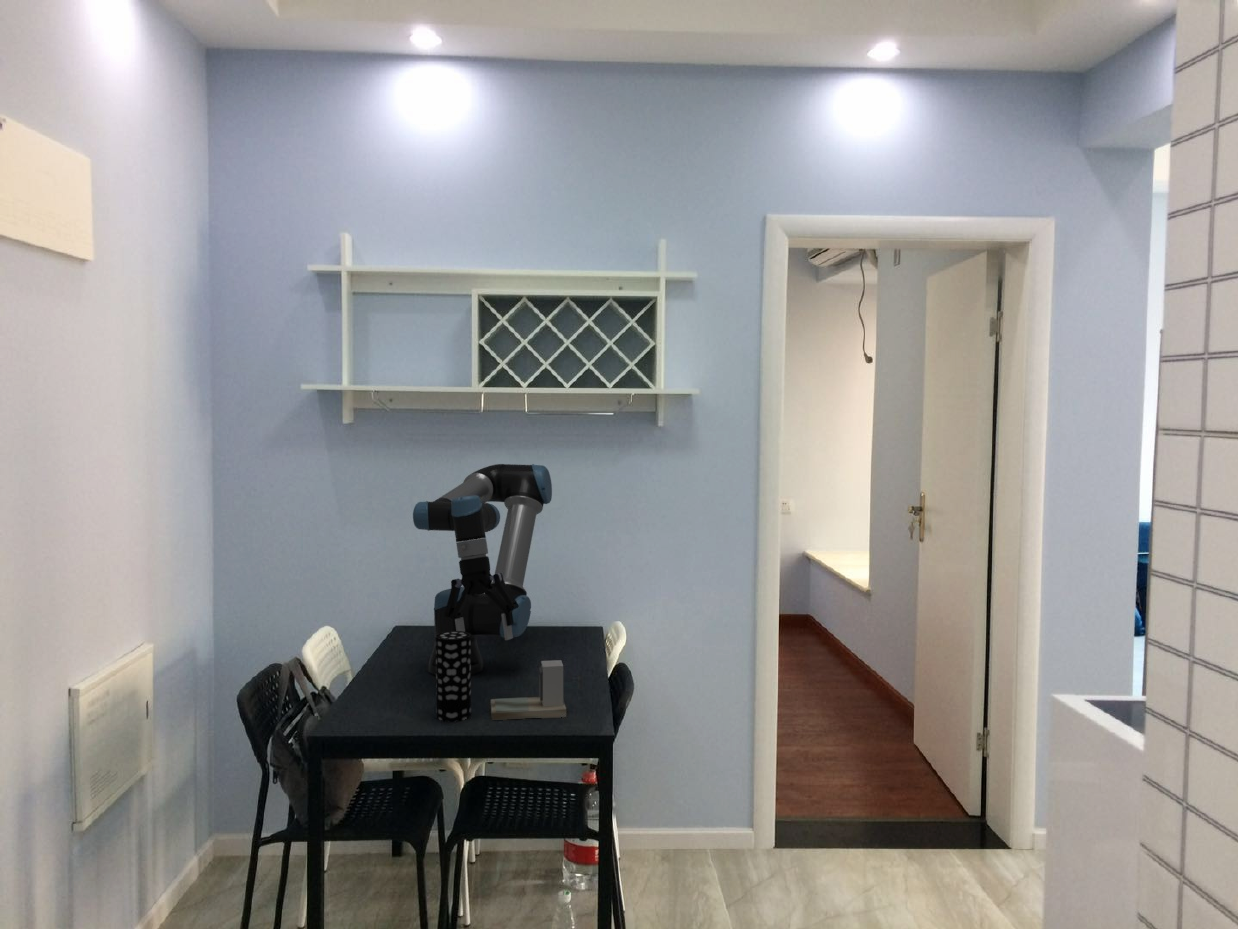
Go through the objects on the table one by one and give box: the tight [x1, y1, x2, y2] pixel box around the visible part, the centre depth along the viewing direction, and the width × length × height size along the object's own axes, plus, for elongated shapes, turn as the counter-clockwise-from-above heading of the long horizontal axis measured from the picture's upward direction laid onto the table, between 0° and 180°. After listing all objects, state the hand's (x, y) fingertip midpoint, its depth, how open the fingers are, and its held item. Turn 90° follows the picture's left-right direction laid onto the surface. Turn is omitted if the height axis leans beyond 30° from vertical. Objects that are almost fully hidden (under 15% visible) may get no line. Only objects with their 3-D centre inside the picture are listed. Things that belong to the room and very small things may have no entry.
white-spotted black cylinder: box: [435, 631, 472, 723], centre depth 225 cm, size 8×8×20 cm
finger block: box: [538, 659, 564, 707], centre depth 229 cm, size 5×6×10 cm
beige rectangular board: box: [490, 696, 567, 721], centre depth 228 cm, size 10×18×2 cm, turn 99°
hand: (485, 641), depth 231 cm, fingers open, 13 cm apart
